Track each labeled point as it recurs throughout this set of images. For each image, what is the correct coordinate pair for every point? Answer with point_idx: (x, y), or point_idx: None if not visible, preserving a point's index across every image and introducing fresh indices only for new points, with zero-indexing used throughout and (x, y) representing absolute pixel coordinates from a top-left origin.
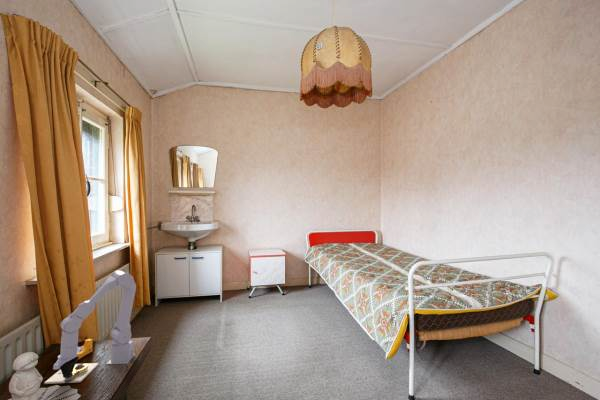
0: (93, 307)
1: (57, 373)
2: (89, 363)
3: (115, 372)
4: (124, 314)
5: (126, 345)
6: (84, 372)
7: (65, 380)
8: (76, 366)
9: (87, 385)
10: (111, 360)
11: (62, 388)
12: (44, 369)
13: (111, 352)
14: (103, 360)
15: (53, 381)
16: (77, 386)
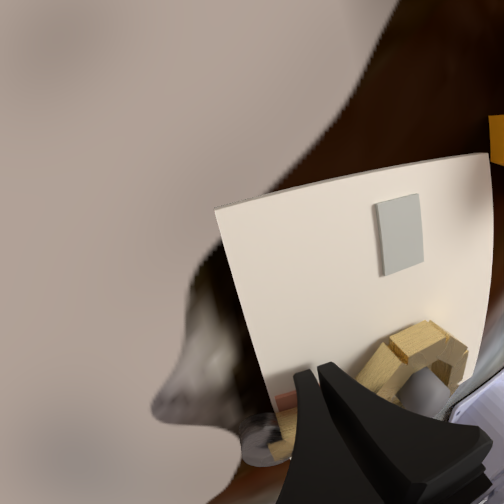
0: None
1: (378, 203)
2: (483, 326)
3: None
4: None
5: (486, 497)
6: None
7: (241, 439)
8: (439, 358)
9: (263, 486)
10: (467, 419)
11: (200, 418)
12: (405, 2)
13: (497, 439)
14: (495, 347)
15: (243, 302)
16: (244, 465)
